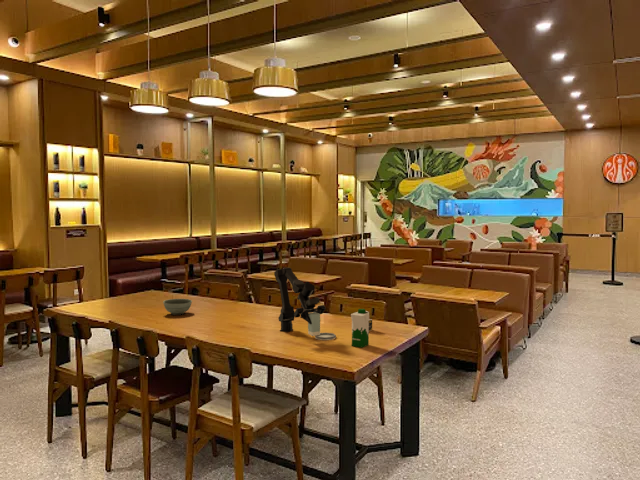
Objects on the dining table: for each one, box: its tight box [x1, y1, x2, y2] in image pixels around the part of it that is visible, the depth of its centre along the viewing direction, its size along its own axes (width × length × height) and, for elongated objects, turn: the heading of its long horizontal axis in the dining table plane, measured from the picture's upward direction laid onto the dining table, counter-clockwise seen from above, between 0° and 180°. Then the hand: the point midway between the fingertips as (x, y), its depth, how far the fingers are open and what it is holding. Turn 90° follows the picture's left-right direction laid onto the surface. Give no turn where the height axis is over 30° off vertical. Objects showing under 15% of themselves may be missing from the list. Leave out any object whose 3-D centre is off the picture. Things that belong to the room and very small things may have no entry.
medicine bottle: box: [365, 310, 373, 332], centre depth 307 cm, size 7×7×12 cm
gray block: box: [307, 312, 321, 337], centre depth 278 cm, size 5×5×12 cm
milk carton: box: [350, 308, 370, 348], centre depth 272 cm, size 9×9×20 cm
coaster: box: [314, 332, 337, 341], centre depth 290 cm, size 12×12×2 cm
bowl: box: [162, 298, 193, 316], centre depth 363 cm, size 21×21×10 cm
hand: (315, 323), depth 277 cm, fingers closed on gray block, 5 cm apart
